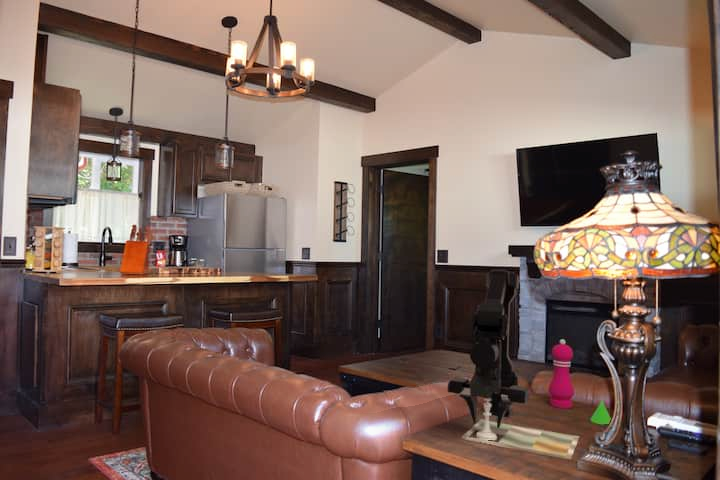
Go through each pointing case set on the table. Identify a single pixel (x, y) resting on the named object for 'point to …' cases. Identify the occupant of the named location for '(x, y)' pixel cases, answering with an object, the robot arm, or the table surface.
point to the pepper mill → (561, 377)
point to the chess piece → (486, 424)
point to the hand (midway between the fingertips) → (486, 425)
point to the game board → (528, 439)
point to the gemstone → (601, 415)
